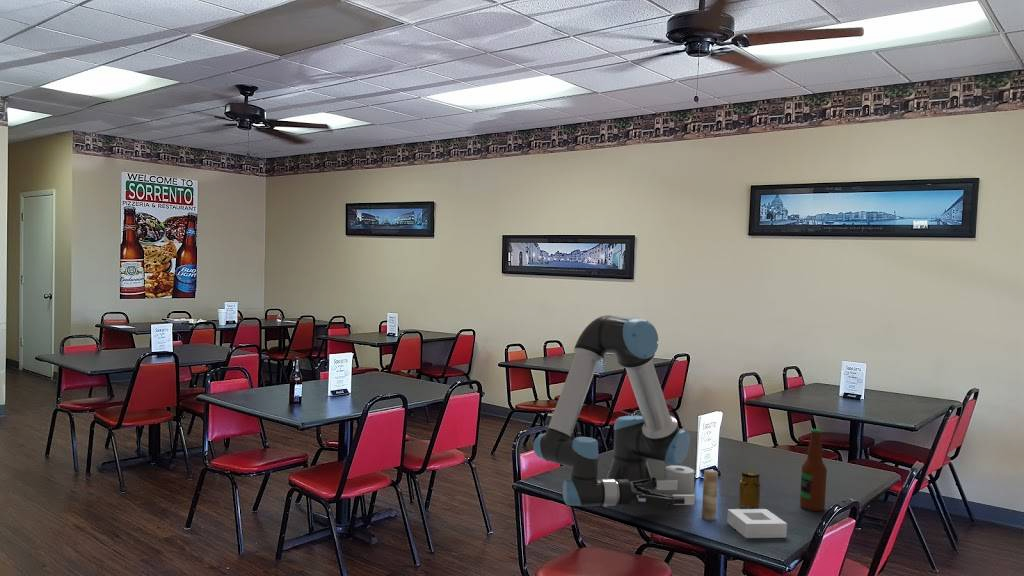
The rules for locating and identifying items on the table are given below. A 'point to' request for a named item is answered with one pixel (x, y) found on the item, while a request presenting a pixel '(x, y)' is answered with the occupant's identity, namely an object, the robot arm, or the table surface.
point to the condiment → (749, 490)
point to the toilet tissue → (680, 480)
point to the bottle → (813, 476)
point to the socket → (757, 523)
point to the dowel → (709, 495)
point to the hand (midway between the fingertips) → (685, 492)
